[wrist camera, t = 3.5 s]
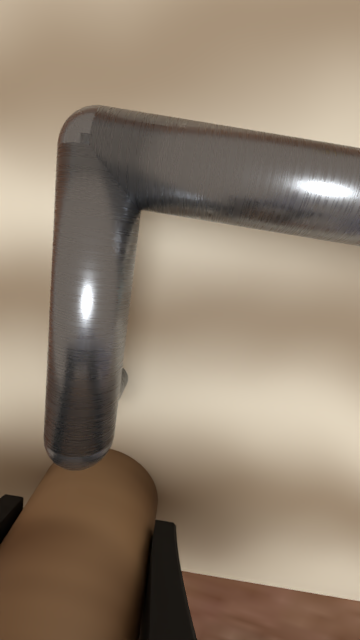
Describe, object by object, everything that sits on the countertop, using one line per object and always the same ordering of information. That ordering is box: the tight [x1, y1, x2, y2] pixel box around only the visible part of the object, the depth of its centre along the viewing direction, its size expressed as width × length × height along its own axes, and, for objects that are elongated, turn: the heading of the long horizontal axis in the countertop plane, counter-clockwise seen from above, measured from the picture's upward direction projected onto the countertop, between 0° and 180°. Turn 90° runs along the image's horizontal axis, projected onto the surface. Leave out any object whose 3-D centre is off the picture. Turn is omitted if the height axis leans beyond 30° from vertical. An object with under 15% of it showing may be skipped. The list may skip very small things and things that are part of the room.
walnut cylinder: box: [0, 449, 158, 640], centre depth 8 cm, size 4×4×6 cm
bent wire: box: [44, 105, 360, 471], centre depth 7 cm, size 8×11×4 cm
